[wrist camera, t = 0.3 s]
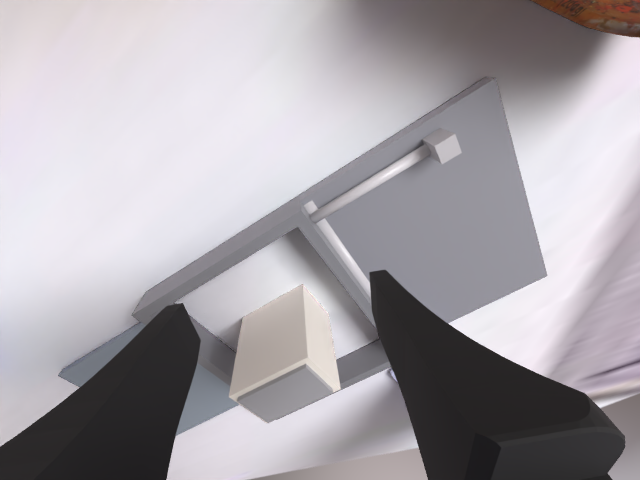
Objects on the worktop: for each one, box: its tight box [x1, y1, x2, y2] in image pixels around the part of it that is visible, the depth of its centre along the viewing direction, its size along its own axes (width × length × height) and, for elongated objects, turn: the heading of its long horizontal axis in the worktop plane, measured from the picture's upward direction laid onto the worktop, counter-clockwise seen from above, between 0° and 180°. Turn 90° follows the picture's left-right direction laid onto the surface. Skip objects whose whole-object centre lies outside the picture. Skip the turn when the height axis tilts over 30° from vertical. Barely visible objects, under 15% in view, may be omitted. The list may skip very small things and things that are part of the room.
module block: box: [229, 284, 341, 423], centre depth 22 cm, size 4×6×7 cm, turn 122°
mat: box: [58, 322, 240, 435], centre depth 28 cm, size 13×11×1 cm
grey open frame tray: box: [132, 77, 547, 420], centre depth 23 cm, size 17×27×3 cm, turn 122°
